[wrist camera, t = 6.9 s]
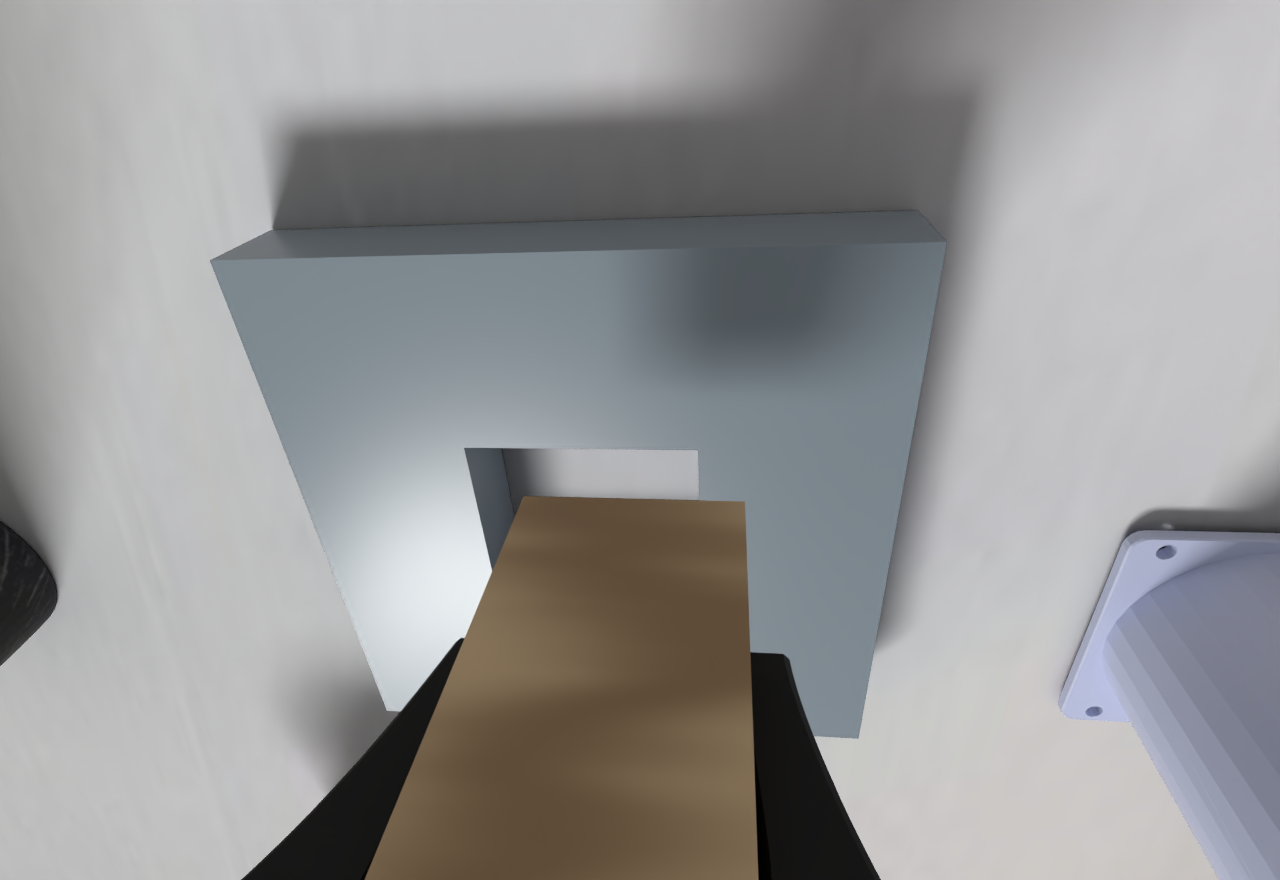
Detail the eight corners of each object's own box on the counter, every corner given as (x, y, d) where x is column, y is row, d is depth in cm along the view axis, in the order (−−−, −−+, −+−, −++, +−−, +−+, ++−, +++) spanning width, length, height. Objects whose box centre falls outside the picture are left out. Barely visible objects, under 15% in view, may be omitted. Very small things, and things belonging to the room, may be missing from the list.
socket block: (917, 210, 16) (946, 242, 14) (847, 675, 24) (858, 738, 22) (271, 230, 18) (210, 260, 16) (414, 653, 26) (387, 710, 24)
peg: (745, 501, 12) (766, 1121, 5) (739, 656, 14) (749, 1240, 8) (523, 495, 13) (289, 1060, 6) (549, 646, 15) (399, 1187, 8)
